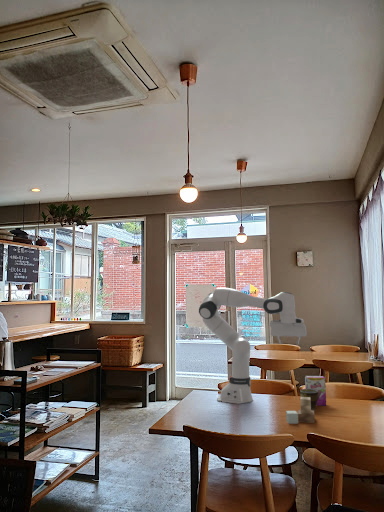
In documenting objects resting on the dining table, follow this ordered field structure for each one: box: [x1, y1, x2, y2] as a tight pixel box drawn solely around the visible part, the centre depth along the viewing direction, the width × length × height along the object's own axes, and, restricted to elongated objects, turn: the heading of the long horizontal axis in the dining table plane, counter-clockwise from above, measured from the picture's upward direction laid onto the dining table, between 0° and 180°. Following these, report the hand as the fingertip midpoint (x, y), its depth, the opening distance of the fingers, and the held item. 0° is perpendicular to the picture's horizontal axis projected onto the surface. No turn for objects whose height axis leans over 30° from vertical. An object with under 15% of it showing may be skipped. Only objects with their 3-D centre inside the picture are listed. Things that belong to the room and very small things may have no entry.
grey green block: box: [285, 410, 299, 425], centre depth 197 cm, size 5×5×5 cm
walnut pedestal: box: [297, 409, 316, 424], centre depth 200 cm, size 8×8×4 cm
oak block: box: [299, 396, 311, 414], centre depth 200 cm, size 5×5×7 cm
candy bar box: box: [304, 375, 327, 407], centre depth 229 cm, size 11×5×16 cm, turn 84°
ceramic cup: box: [299, 388, 318, 411], centre depth 220 cm, size 13×10×10 cm
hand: (289, 344), depth 219 cm, fingers open, 8 cm apart
